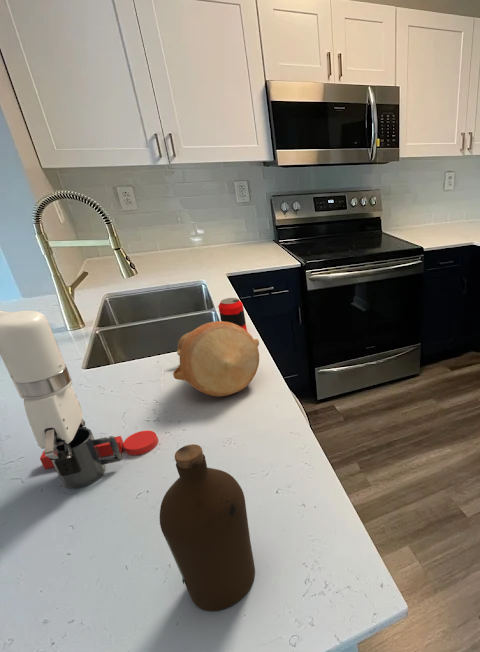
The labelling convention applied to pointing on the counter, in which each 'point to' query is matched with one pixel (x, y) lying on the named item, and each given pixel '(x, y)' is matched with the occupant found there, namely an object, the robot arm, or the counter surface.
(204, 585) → the olive oil
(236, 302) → the soda can
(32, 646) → the counter surface
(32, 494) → the counter surface
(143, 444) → the spoon
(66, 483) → the mug
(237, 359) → the jug
